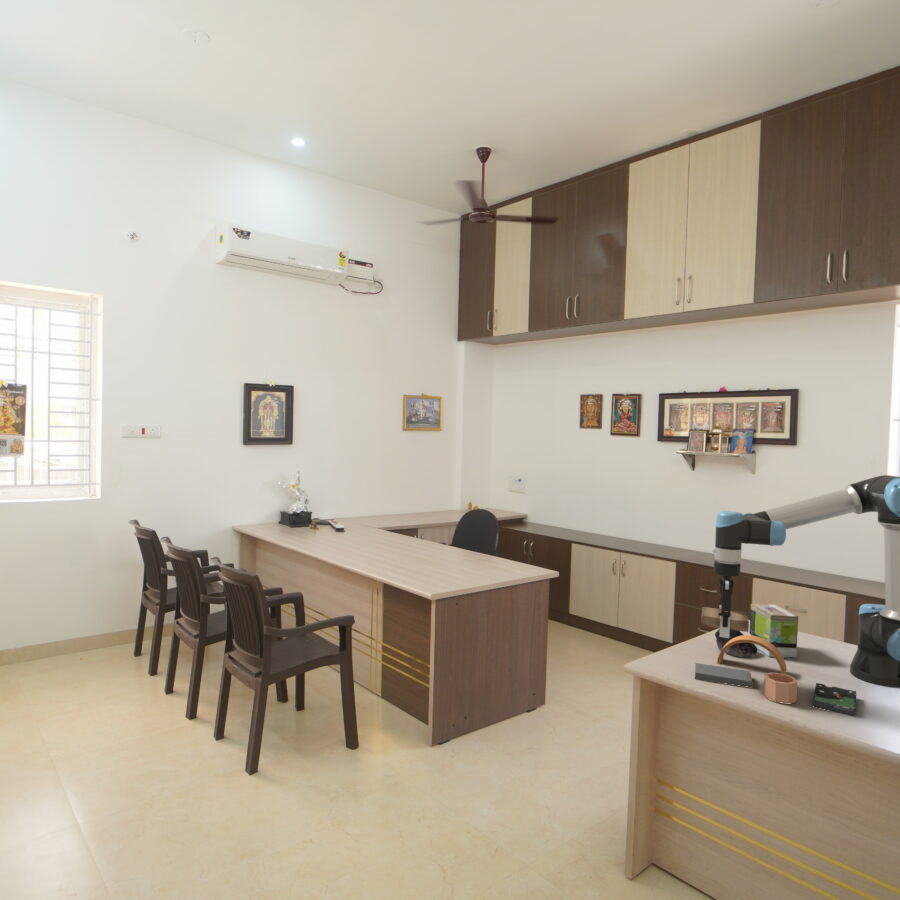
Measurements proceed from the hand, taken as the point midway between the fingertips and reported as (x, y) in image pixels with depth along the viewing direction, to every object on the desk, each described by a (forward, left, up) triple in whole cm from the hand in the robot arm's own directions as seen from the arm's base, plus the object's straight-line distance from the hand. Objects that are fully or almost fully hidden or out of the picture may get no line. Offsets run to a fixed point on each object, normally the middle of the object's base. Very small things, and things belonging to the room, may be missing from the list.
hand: (723, 631), depth 195 cm
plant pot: (-15, +9, -15) cm, 23 cm away
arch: (-9, -14, -15) cm, 23 cm away
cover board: (0, 0, +2) cm, 2 cm away
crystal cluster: (-5, -29, -15) cm, 33 cm away
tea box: (-17, -36, -15) cm, 43 cm away
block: (0, 0, -15) cm, 15 cm away
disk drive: (-30, +5, -15) cm, 34 cm away
